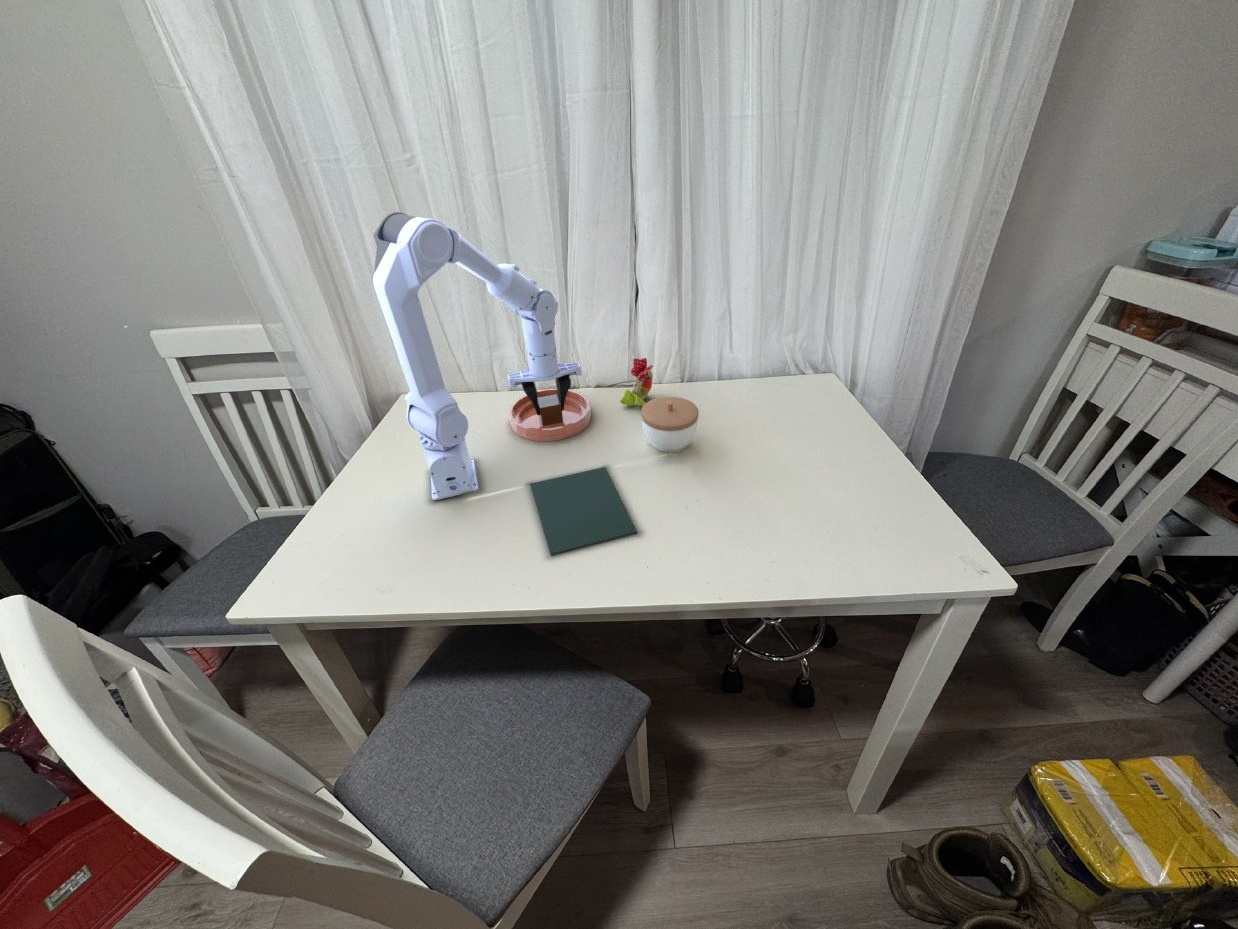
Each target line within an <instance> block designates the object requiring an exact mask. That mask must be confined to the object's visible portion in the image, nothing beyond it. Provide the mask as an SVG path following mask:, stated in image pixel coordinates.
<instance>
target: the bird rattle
mask: <svg viewBox="0 0 1238 929" xmlns="http://www.w3.org/2000/svg"><path fill="white" fill-rule="evenodd" d="M632 363H633V364H632V366H633V367H632V368H631V369H630V373H631V376H633V377H635V380H634V383H633V386H632V390H629V389H626V390H625V391H624V394H623V396H622V397H621V398H620V400H619V402H620V404H623V405H624V406H627V407H633V406H634V405H635V404H637V405H639V406H640V407H641V408H642V407H643V406H644V405H645V404H646V403H647V402H646V401H645V400H646V399H647V398H648V395H649V392H650V391H651V389H652V385H653V379H654V374H653V372H652V370H651V369H652V368H653V367H654V365H653V364H650V365H649V366H648V359H647V358H646V357H643V358H641V359H639V358H633V359H632Z"/></svg>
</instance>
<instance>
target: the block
mask: <svg viewBox="0 0 1238 929" xmlns="http://www.w3.org/2000/svg"><path fill="white" fill-rule="evenodd" d="M538 404H539V408H540V415H539V418H540V420H541V423H542V426H546V425H551V424H556V423H561V422H563V415H562V407H561V403H560V401H559V398H558V396H557V394H555V395H550V396H545V397H539V398H538Z"/></svg>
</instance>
